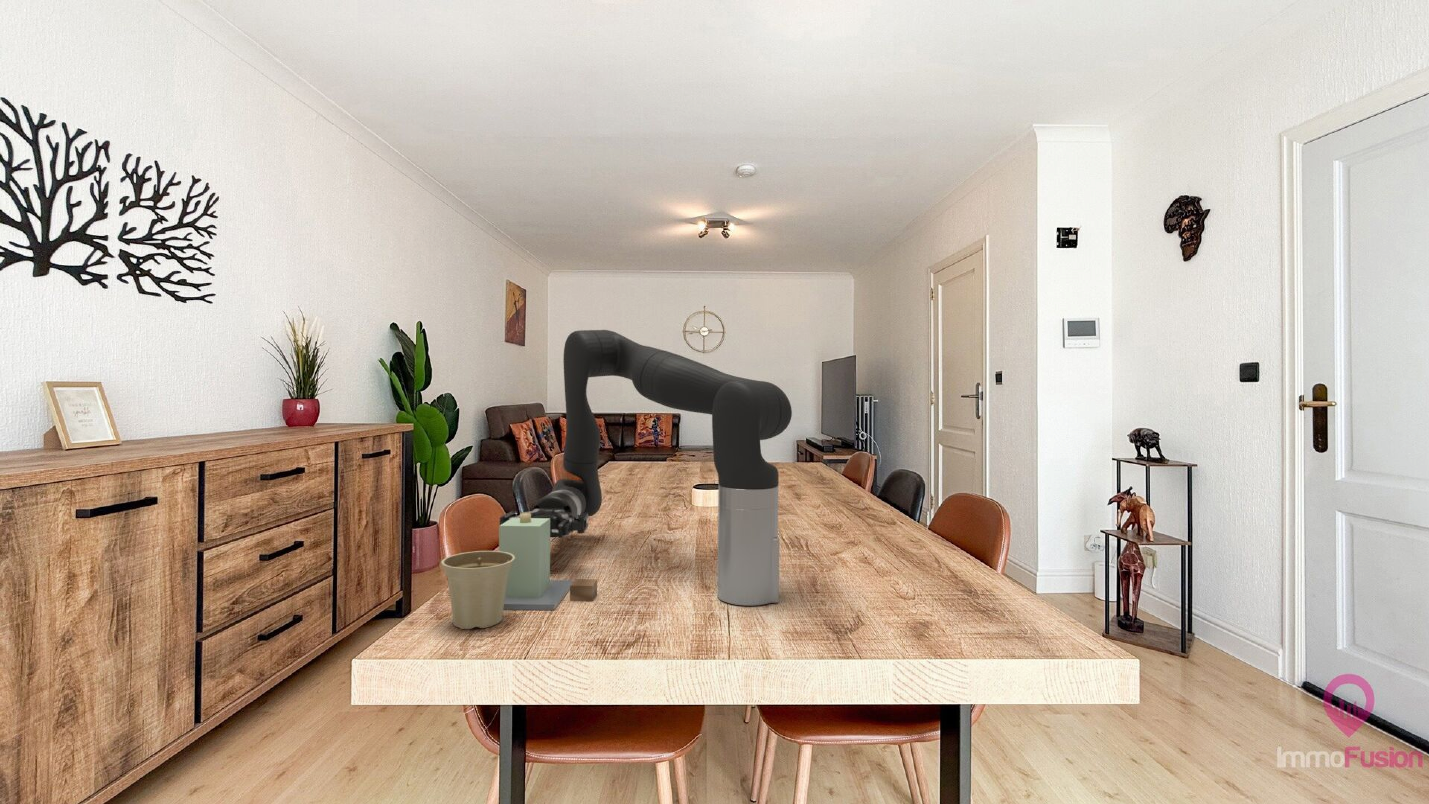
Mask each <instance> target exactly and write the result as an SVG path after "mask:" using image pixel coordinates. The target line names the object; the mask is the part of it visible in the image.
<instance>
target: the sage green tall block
mask: <svg viewBox="0 0 1429 804" xmlns="http://www.w3.org/2000/svg"><path fill="white" fill-rule="evenodd" d="M521 513H522V514H521ZM521 513H520V514H519V515H520V518H511V519H510V520H508V521H506V522H505V523H503V524H501V525H500V524H499V526H498V528H499V529H498V551H501V552H508V553H511V554H513V555H514V556H515V561H514V562H513V563H512V566H511V570H510V572H509V575H508V581H507V588H506V594H505V597H536V598H539V597H540V596H541V595H542V594H543V593H544V592H545V590H546V589H547V588H548V587H549V586H550V580H551V537H550V518H531V514H530V513H524V512H521Z"/></svg>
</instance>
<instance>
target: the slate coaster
mask: <svg viewBox="0 0 1429 804" xmlns="http://www.w3.org/2000/svg"><path fill="white" fill-rule="evenodd" d="M573 581H574V580H571V579H569V580H568V579H567V580H565V579H564V580H563V579H557V580H556V579H555V580H554V579H550V586H549V587H548V588H547V589H546V590H545V592H544V593H543V594H542V595H541V596H540V597H539V598H536V597H505V601H504V608H503V611H504V610H505V611H507V610H508V611H509V610H510V611H511V610H512V611H515V610H516V611H520V610H521V611H555V610H556V608H557V607H558V606H559V605H560V603H561V602H562V601H563V600H564V598H565V597H566V595H568V592H570V585H571V584H572V582H573Z"/></svg>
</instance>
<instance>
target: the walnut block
mask: <svg viewBox="0 0 1429 804" xmlns="http://www.w3.org/2000/svg"><path fill="white" fill-rule="evenodd" d="M597 596H598V579H597V578H595V579H593V578H590V579H589V578H575V579H574V580H573V582H572V584H571V585H570V590H569V601H570V602H593V601H594V600H595V599H596V597H597Z"/></svg>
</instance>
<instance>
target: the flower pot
mask: <svg viewBox="0 0 1429 804" xmlns="http://www.w3.org/2000/svg"><path fill="white" fill-rule="evenodd" d="M514 561H515V556H514V555H513V554H511V553H508V552H501V551H499V550H476V551H467V552H459V553H457V554H451V555H449V556H446V557H445V558H443V559H442V560H441V563H440V564H441V566H442V567H443V568H444V574H445V576H446V577H447V584H448V590H449V598H450V606H451V614H452V622H453V623H452V624H453V626H455V627H457V628H459V629H462V630H463V629H464V630H472V629H474V628H480V629H486V628H490V627H493V626H495V625H498V624H499V623H501V621H502V618H503V615H504V610H503V608H504V601H505V594H506V588H507V581H508V575H509V572H510V570H511V566H512V563H513V562H514Z"/></svg>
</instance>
